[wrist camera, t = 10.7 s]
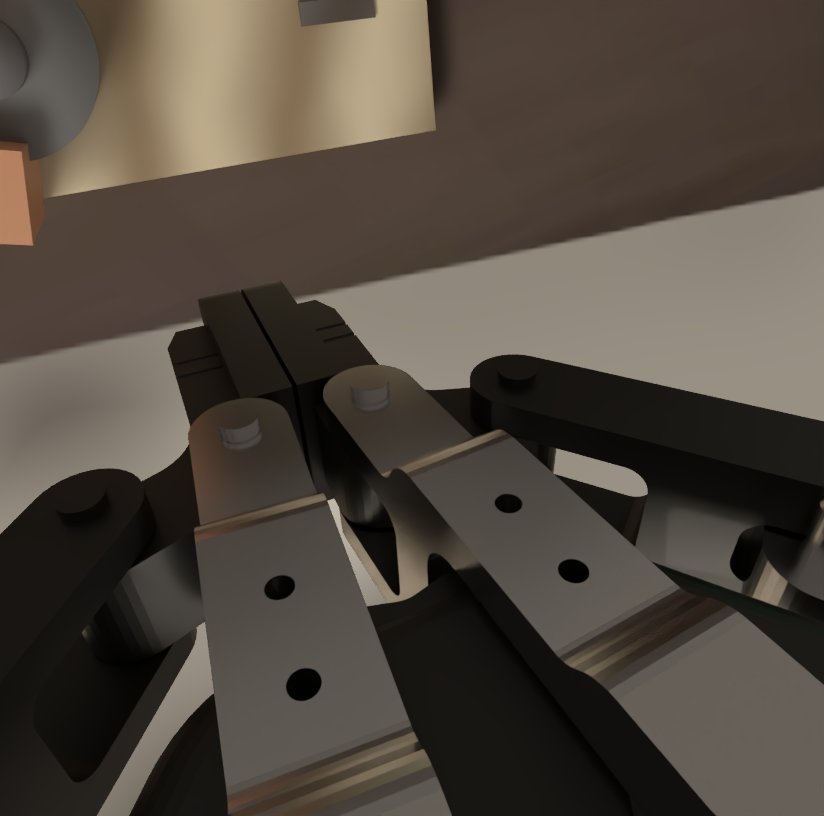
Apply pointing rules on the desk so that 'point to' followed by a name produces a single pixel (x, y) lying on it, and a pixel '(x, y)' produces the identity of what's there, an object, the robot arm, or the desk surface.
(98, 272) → the desk surface
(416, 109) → the level stand
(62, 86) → the orange grey panel fixture
